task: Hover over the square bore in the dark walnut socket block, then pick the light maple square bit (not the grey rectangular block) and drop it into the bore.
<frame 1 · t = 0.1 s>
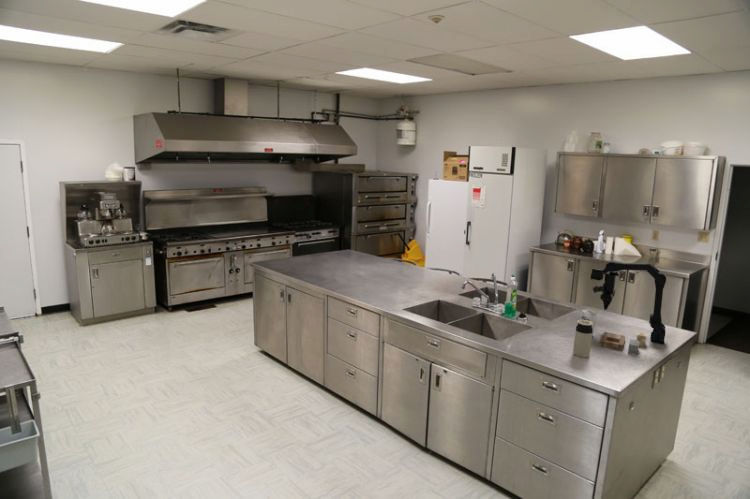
hand: (606, 307, 289), 15 cm above the countertop, tool pointing down, fingers open, 9 cm apart
socket block: (612, 343, 273), on the countertop
grey rectangular block: (633, 351, 263), on the countertop
square bit: (640, 344, 273), on the countertop
travel mug: (581, 355, 256), on the countertop
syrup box: (586, 335, 285), on the countertop
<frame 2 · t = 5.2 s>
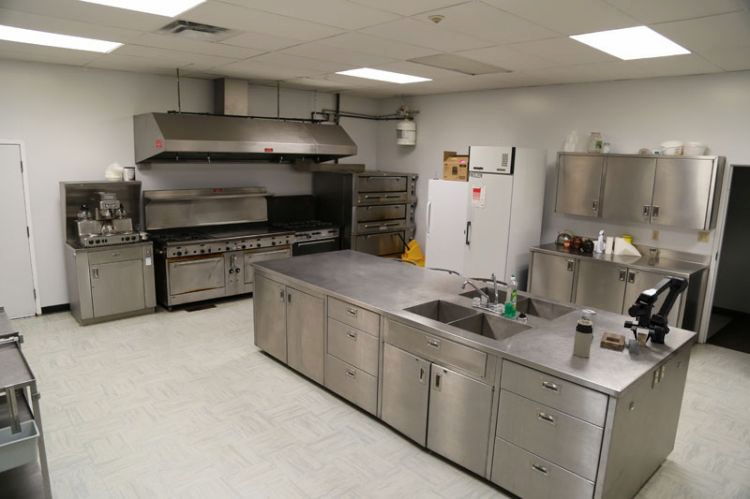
hand: (641, 341, 272), 2 cm above the countertop, tool pointing down, fingers closed on square bit, 4 cm apart
square bit: (640, 344, 273), on the countertop, touching gripper
everything else where it was.
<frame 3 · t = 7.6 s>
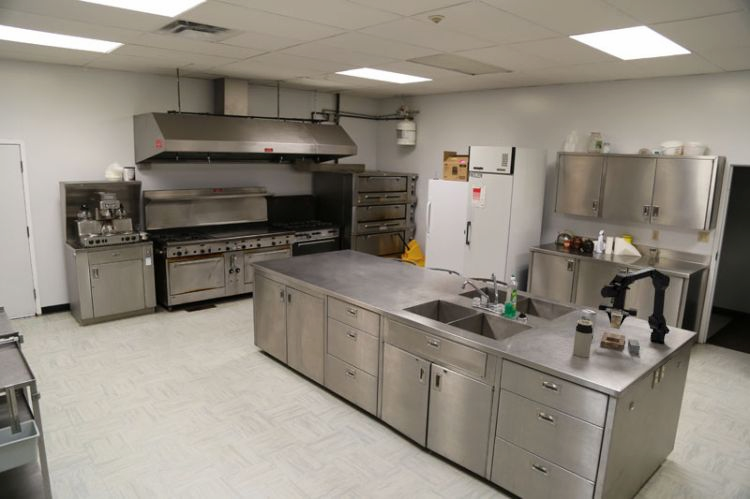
hand: (615, 324, 268), 12 cm above the countertop, tool pointing down, fingers closed on square bit, 4 cm apart
square bit: (615, 327, 269), point 10 cm above the countertop, touching gripper
everything else where it was.
when the fingers open (4 cm above the countertop, at t = 10.1 s): square bit drops 3 cm, resting in socket block.
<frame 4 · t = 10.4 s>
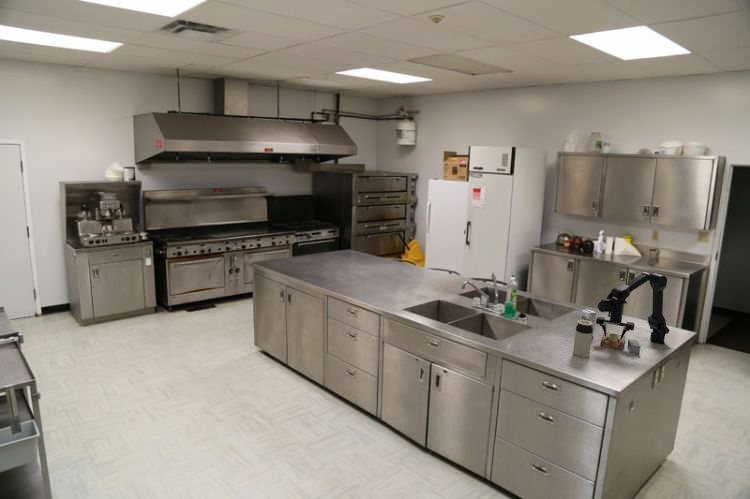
hand: (613, 338, 270), 4 cm above the countertop, tool pointing down, fingers open, 7 cm apart
square bit: (612, 345, 271), resting in socket block
everything else where it was.
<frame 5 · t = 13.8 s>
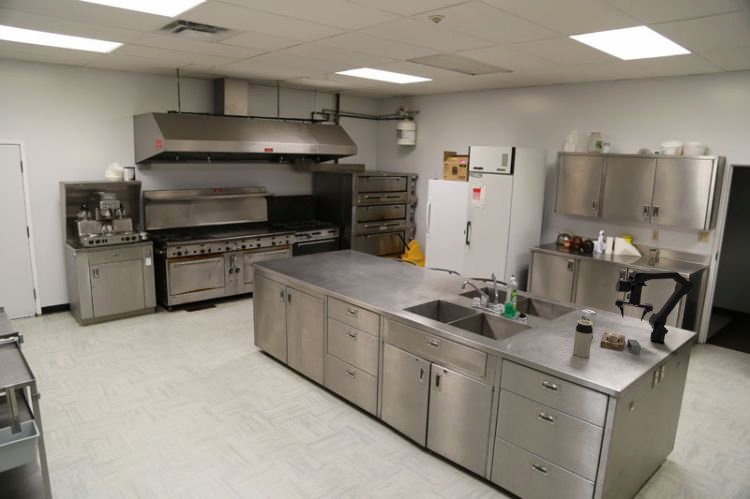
hand: (632, 319, 277), 12 cm above the countertop, tool pointing down, fingers open, 9 cm apart
nothing on the countertop moved.
at the end: square bit 0.1 cm from the target spot on the socket block, point 0.0 cm above the socket block's base; square bit tilted 0°; the gripper is holding nothing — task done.
